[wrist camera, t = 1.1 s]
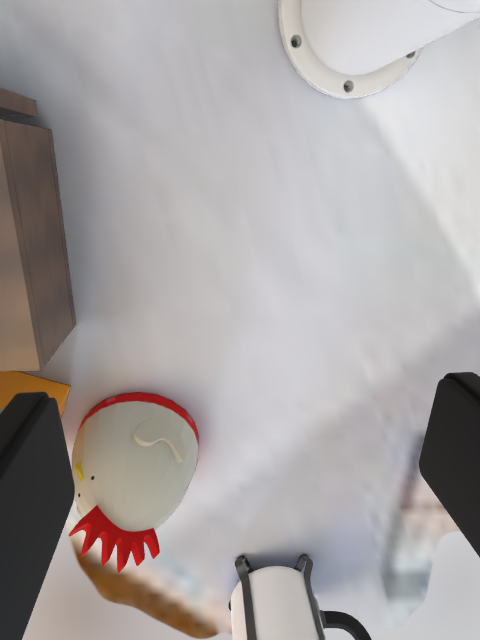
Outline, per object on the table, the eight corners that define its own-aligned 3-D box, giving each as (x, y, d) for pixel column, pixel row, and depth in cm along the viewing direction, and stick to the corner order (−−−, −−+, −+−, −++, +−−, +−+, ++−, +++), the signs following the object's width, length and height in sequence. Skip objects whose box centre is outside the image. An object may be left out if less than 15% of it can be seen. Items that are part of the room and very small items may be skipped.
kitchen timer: (118, 371, 41) (77, 478, 27) (221, 427, 45) (230, 544, 31) (57, 456, 45) (-7, 588, 31) (157, 501, 49) (140, 635, 35)
